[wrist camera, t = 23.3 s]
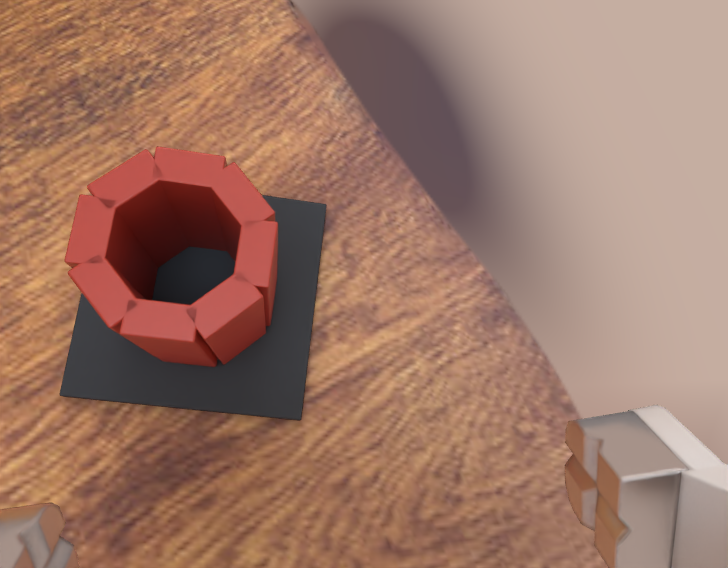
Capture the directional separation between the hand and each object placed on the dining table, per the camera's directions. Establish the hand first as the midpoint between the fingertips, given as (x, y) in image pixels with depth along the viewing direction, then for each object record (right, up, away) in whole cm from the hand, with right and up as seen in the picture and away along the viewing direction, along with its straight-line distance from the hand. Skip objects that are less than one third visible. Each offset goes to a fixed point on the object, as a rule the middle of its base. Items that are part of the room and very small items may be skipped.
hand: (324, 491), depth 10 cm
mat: (-7, +3, +18) cm, 19 cm away
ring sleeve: (-6, +3, +17) cm, 19 cm away
